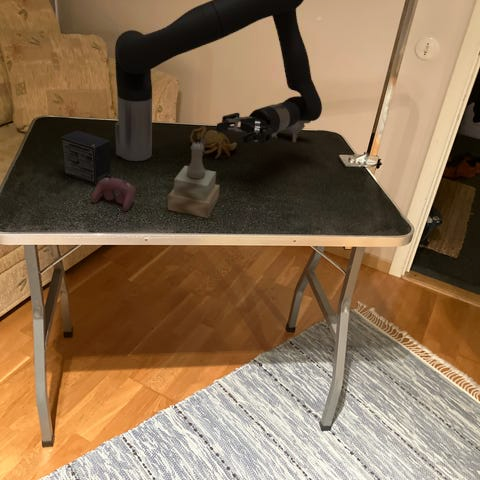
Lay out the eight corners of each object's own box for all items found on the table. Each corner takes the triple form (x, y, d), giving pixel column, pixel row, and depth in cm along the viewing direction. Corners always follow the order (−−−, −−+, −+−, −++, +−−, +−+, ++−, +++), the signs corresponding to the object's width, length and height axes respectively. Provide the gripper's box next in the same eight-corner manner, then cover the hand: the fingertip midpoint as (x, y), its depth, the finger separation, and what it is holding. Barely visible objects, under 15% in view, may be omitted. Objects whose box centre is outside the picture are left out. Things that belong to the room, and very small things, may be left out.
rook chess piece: (202, 180, 117) (204, 149, 112) (184, 177, 117) (185, 146, 113) (207, 172, 121) (209, 142, 116) (189, 169, 121) (191, 139, 117)
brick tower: (167, 209, 120) (168, 180, 115) (181, 191, 128) (182, 163, 124) (207, 218, 119) (210, 188, 114) (218, 199, 127) (221, 171, 122)
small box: (112, 176, 131) (110, 139, 125) (96, 186, 126) (94, 147, 120) (80, 165, 134) (77, 128, 128) (63, 174, 129) (59, 136, 123)
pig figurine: (307, 144, 163) (313, 113, 157) (269, 137, 165) (274, 106, 159) (309, 139, 167) (315, 108, 161) (272, 131, 169) (277, 101, 163)
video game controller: (134, 211, 120) (140, 183, 119) (126, 212, 116) (132, 183, 115) (98, 202, 122) (103, 174, 121) (88, 202, 118) (94, 173, 117)
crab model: (245, 156, 151) (248, 139, 148) (210, 163, 144) (212, 145, 141) (218, 136, 161) (219, 120, 158) (184, 142, 154) (185, 125, 151)
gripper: (251, 98, 134) (210, 110, 123) (293, 115, 127) (254, 128, 116) (247, 125, 139) (208, 138, 128) (288, 142, 132) (250, 157, 121)
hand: (230, 133), depth 122 cm, fingers open, 8 cm apart
